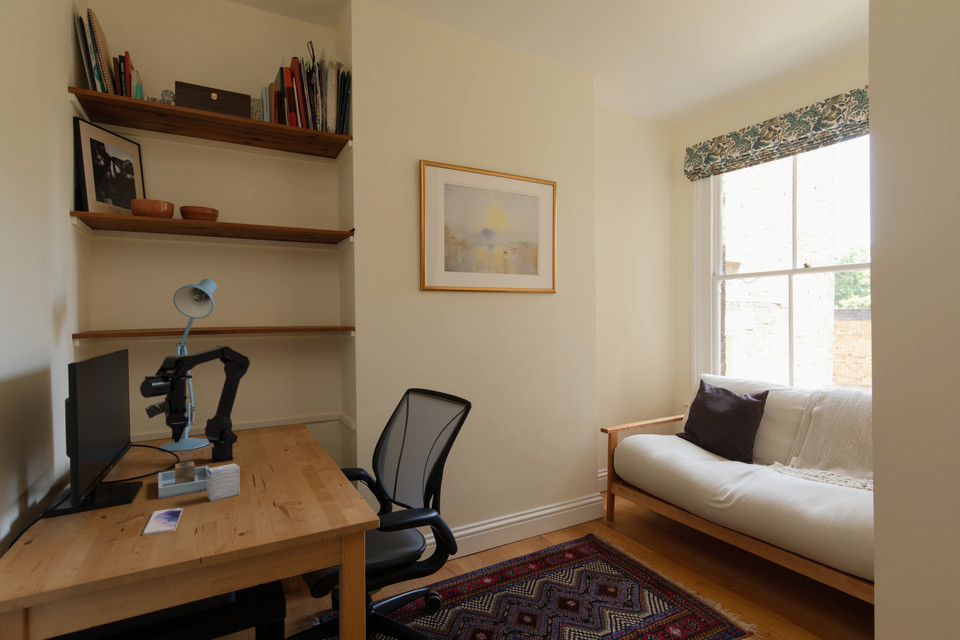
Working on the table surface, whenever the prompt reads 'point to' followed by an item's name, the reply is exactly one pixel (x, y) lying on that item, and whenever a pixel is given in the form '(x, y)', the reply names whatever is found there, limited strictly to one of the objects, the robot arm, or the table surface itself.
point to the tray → (170, 489)
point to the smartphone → (162, 521)
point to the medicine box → (223, 481)
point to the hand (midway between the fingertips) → (176, 439)
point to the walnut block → (184, 473)
